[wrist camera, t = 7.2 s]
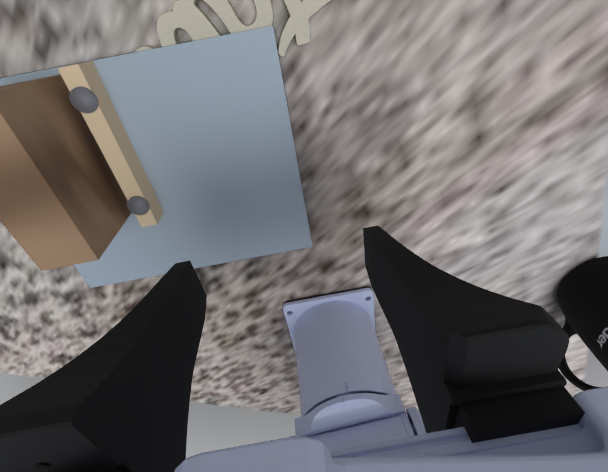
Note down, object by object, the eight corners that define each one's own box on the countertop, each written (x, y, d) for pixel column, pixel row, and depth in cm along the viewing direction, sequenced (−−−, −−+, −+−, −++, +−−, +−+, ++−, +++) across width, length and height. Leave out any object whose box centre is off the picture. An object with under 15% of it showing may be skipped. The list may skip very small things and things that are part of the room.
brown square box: (134, 208, 21) (98, 260, 17) (87, 216, 21) (38, 271, 17) (64, 73, 17) (-13, 94, 12) (4, 85, 17) (-95, 110, 12)
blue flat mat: (311, 239, 25) (315, 260, 23) (96, 278, 25) (79, 304, 23) (272, 25, 17) (273, 26, 15) (-40, 85, 17) (-86, 96, 15)
